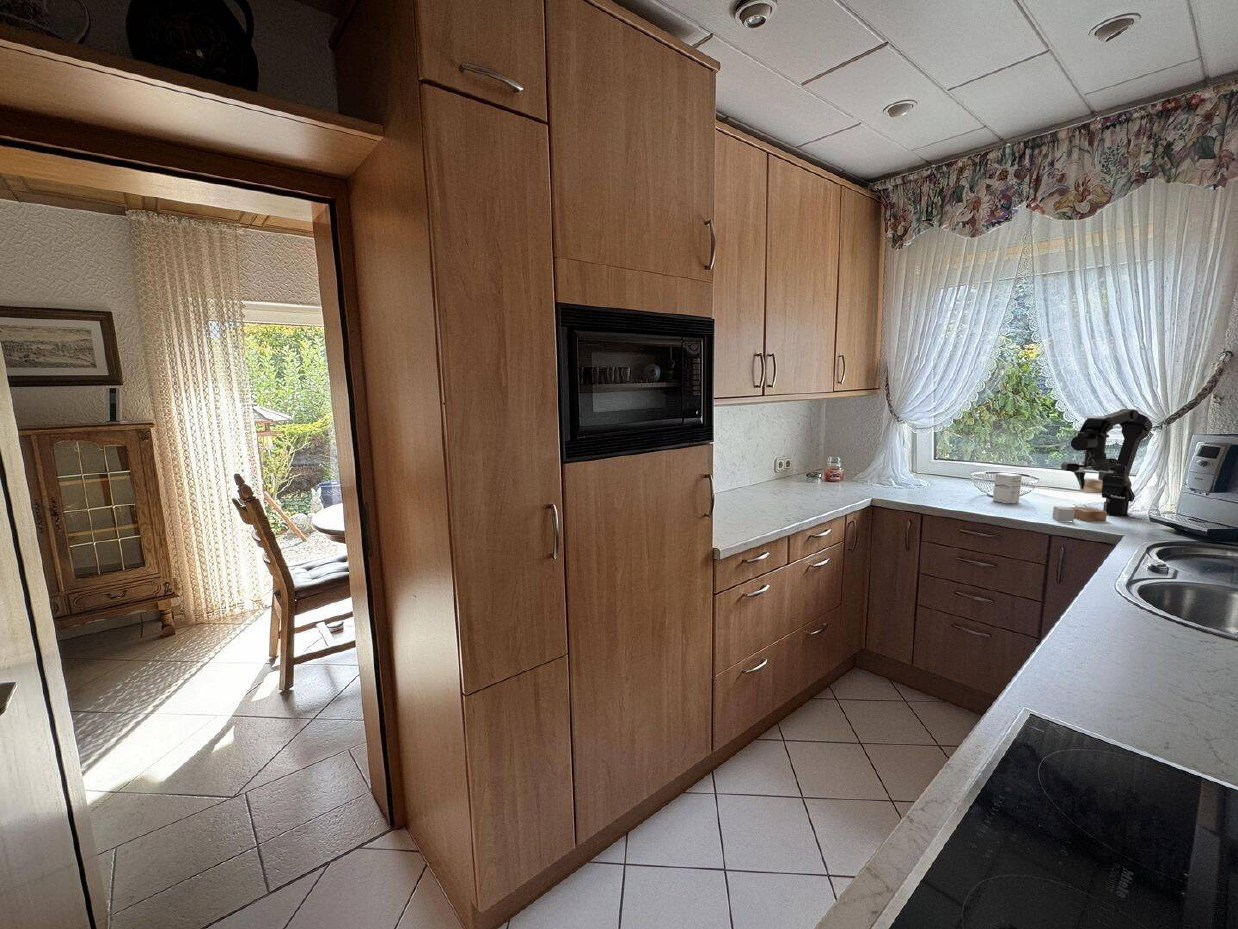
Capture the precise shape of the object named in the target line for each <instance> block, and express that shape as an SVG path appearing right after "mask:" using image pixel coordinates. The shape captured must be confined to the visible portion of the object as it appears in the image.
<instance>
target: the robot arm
mask: <svg viewBox="0 0 1238 929" xmlns="http://www.w3.org/2000/svg"><path fill="white" fill-rule="evenodd" d="M1116 425H1119V426H1120V427H1121V434H1122V437H1123V438H1124V439H1123V442H1122V444H1121V448H1120V451H1119V454H1118V456H1117V458H1113V457H1112V458H1111V457H1110V458H1107V452H1106V446H1107V445H1106V444H1107V439H1108V438H1110V435H1109V434H1108V432H1110V431H1111V430H1113V429H1114V426H1116ZM1153 426H1154V425H1153V422H1152V421H1151V419H1149V417H1148V416H1146V415H1144V414H1142V413H1140V412H1139V411H1138V410H1137V409H1135V408H1122V409H1119V410H1118V411H1115V412H1112V413H1108V414H1106V415H1095V416H1094V415H1092V416H1089V417H1087V418H1086V419H1085V420H1084V421H1083V423H1082V426H1081V427H1080V429H1079V430H1078V433H1077V435H1076V436H1074V437H1073V438H1072V440H1071V441H1070V447H1071V448H1072V449H1073V450H1074V451H1078V452H1083V454H1084V459H1083V461H1082V462H1081V463H1082V464H1079V463H1077V462H1069V461H1068V462H1067V461H1063V462H1061V465H1060V469H1061V470H1062V471H1065V472H1071V473H1073V474H1074V476H1075V477H1076V479H1077V482H1078V485H1079V489H1080V488H1081V489H1083V488H1084V478H1085V475H1086V474H1087V473H1086V472H1085V470H1087V471H1094V472H1098V476H1097V479H1099V480H1102V481H1103V483H1102V491H1101V498H1103V499H1105V501H1104V502H1103V509H1102V511H1105V512H1107V515H1108V516H1118V517H1119V516H1120V517H1130V514H1128V510H1129V504H1130V502H1131V503H1132V502H1133V501H1134V500H1135V497H1136V495H1135V493H1134V491H1133V489H1132V482H1131V479H1130V473H1131V470H1132V467H1133V465H1134V462H1135V460H1136V459H1135V458H1136V455H1137V453H1138V450H1139V448H1140V447H1139V446H1140V444H1141V442H1142V441H1143V440H1144V439H1146V438H1147V437H1148V436H1149V434H1150V432H1151V431H1152V429H1153Z"/></svg>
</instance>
